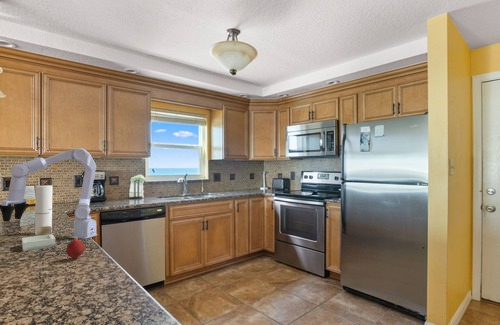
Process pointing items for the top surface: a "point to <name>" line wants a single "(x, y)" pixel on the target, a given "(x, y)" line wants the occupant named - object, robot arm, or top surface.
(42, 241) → the dish
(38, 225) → the cylindrical container
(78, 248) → the onion
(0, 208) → the robot arm
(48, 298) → the top surface
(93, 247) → the top surface
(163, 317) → the top surface
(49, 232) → the block
